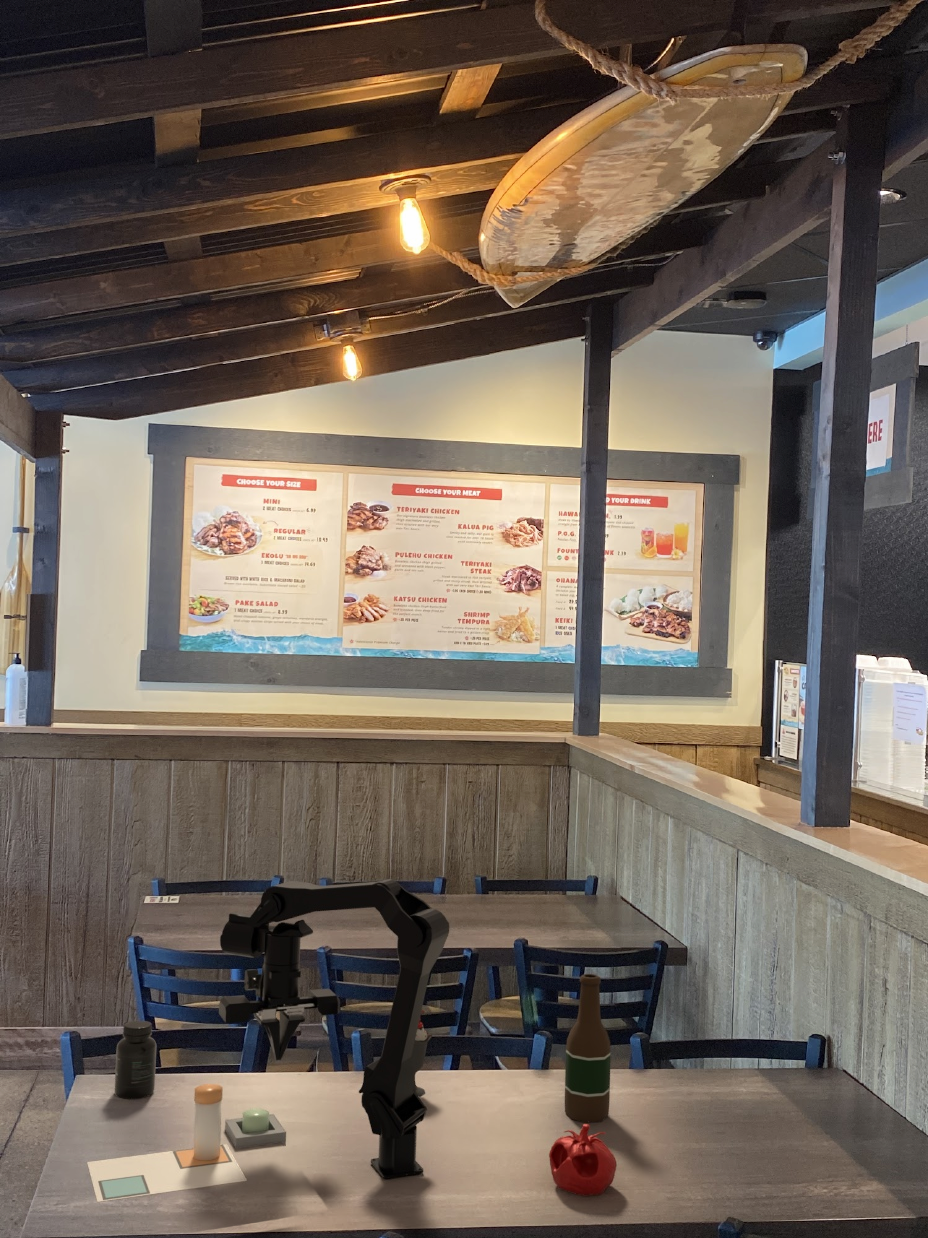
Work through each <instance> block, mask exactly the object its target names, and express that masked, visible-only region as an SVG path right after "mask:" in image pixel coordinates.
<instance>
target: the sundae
mask: <svg viewBox="0 0 928 1238" xmlns="http://www.w3.org/2000/svg"><path fill="white" fill-rule="evenodd" d="M423 1014H425V1011H424V1010H423V1009H422V1010H421V1015H423ZM421 1015H420V1017H422V1016H421ZM431 1038H433V1034H431V1033H428V1032H427V1031H426V1029H425V1028H424V1024H423V1022H421V1018H420V1019H419V1024H418V1029H417V1033H416V1038H415V1042H414V1047H413V1051H412V1056H411V1062H412V1067H413V1071H414V1091H415V1093H416V1094H417V1096H418V1097H421V1096H423V1095H425V1093H426V1091H425V1089H424V1088H422V1087H420V1086H417V1083H416V1073H417V1072H419V1071H420V1070H421V1069H422V1068H423V1067H424V1064H425V1063H424V1062H425V1058H426V1052H427V1046H428V1043H429V1041H430V1040H431Z"/></svg>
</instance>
